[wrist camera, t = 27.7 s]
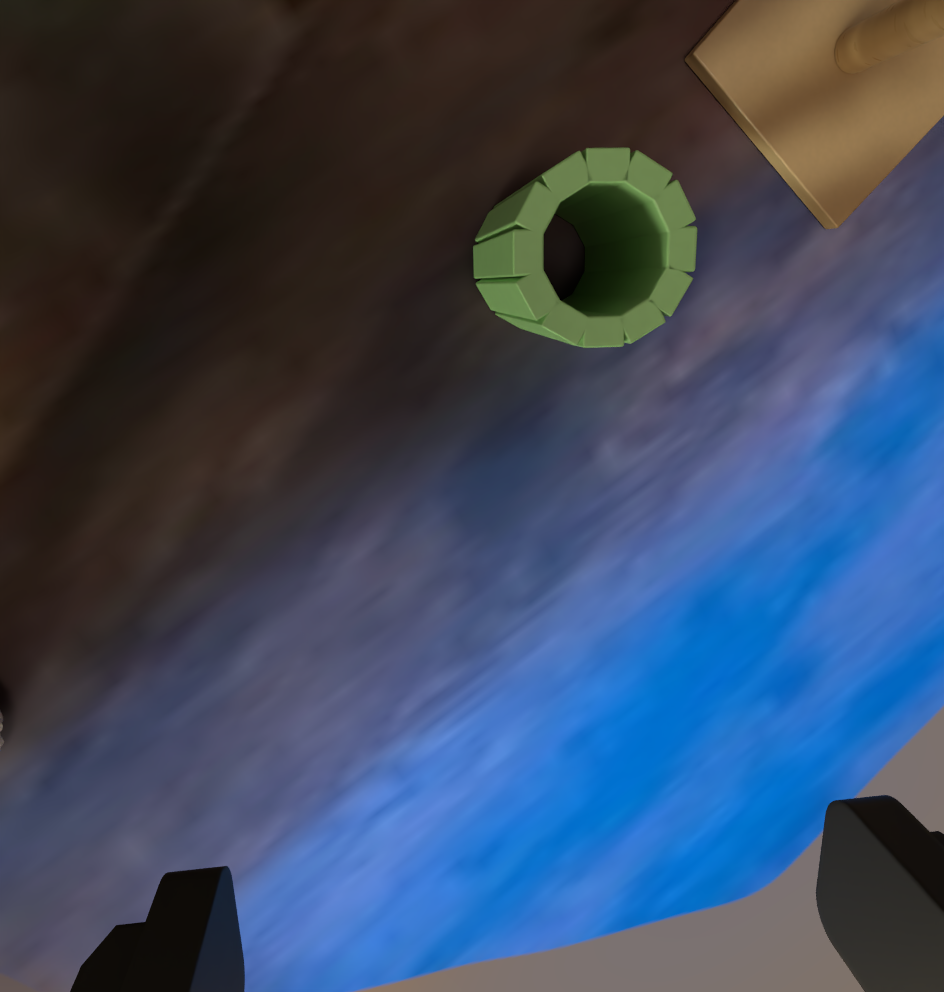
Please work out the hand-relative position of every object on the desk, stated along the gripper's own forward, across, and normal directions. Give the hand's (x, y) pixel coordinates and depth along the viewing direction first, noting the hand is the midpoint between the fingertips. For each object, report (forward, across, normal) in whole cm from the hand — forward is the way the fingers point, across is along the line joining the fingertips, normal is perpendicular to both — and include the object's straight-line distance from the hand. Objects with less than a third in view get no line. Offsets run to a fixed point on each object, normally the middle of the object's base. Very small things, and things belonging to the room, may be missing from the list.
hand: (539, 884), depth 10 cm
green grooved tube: (+26, -6, -8) cm, 28 cm away
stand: (+26, -19, -17) cm, 36 cm away
